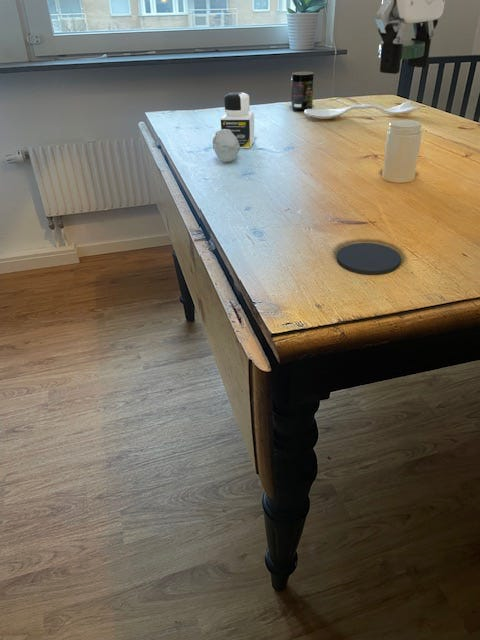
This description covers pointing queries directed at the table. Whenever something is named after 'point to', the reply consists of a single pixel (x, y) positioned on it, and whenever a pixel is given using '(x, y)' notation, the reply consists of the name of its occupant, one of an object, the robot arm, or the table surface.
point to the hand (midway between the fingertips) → (403, 68)
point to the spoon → (333, 113)
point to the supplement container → (302, 91)
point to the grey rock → (225, 145)
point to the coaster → (368, 258)
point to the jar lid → (409, 49)
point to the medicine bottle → (239, 118)
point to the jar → (401, 151)
